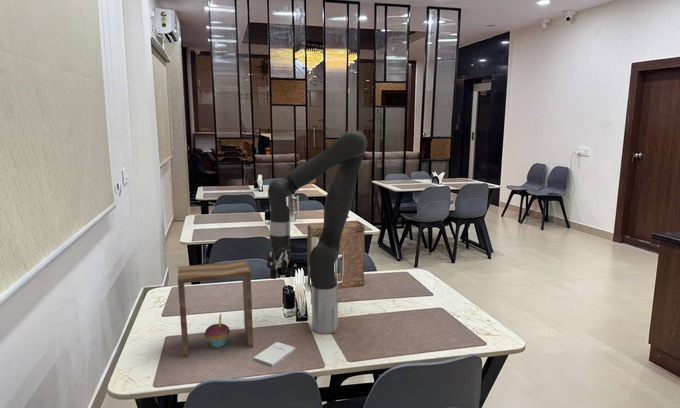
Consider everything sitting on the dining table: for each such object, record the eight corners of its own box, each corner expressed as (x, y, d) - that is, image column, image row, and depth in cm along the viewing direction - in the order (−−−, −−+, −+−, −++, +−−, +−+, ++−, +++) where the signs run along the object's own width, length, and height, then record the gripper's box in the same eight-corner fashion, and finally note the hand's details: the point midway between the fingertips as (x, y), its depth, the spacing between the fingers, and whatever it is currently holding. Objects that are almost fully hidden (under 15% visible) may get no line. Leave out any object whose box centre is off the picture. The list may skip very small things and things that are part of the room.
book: (312, 291, 203) (311, 228, 197) (307, 285, 211) (306, 224, 206) (363, 285, 210) (364, 224, 205) (357, 279, 219) (357, 220, 214)
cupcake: (235, 341, 157) (234, 309, 154) (219, 352, 149) (217, 319, 147) (216, 336, 160) (214, 305, 158) (200, 347, 153) (197, 314, 150)
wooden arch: (183, 340, 157) (178, 266, 152) (248, 331, 164) (245, 260, 159) (183, 358, 145) (177, 279, 140) (253, 347, 152) (250, 271, 147)
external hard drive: (252, 361, 144) (276, 345, 155) (272, 368, 140) (295, 351, 151) (252, 357, 144) (276, 341, 155) (272, 364, 140) (295, 347, 151)
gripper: (280, 237, 155) (279, 282, 157) (297, 230, 168) (296, 271, 170) (261, 235, 157) (260, 279, 160) (279, 228, 171) (278, 269, 173)
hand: (279, 275), depth 165 cm, fingers open, 8 cm apart
